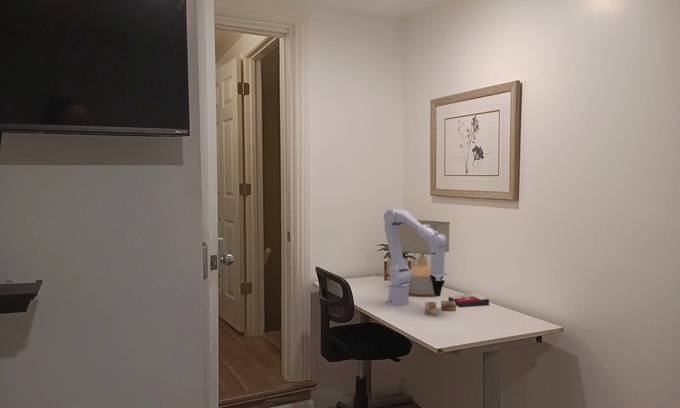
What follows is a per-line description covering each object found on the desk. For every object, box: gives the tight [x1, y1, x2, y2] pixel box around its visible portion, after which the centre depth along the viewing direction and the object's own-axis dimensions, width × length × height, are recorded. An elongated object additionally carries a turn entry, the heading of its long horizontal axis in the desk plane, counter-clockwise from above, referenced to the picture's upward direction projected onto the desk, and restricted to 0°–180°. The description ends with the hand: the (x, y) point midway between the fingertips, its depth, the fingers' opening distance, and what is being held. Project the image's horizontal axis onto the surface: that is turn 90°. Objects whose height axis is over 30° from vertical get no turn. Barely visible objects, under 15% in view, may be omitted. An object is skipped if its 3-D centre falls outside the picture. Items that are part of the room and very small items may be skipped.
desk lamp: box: [397, 219, 450, 297], centre depth 258 cm, size 22×19×37 cm
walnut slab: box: [440, 300, 457, 313], centre depth 227 cm, size 6×6×3 cm
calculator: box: [447, 293, 490, 308], centre depth 238 cm, size 11×4×15 cm
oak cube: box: [424, 301, 437, 316], centre depth 220 cm, size 4×4×4 cm
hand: (436, 293), depth 222 cm, fingers open, 7 cm apart
